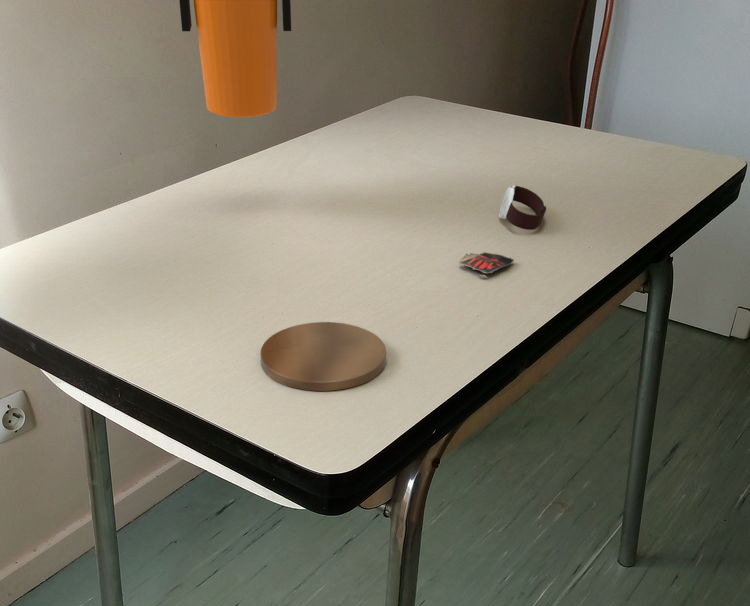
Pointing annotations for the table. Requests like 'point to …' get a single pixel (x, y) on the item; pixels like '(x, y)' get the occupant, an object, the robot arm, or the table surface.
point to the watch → (517, 216)
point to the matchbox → (485, 262)
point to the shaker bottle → (238, 55)
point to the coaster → (323, 356)
